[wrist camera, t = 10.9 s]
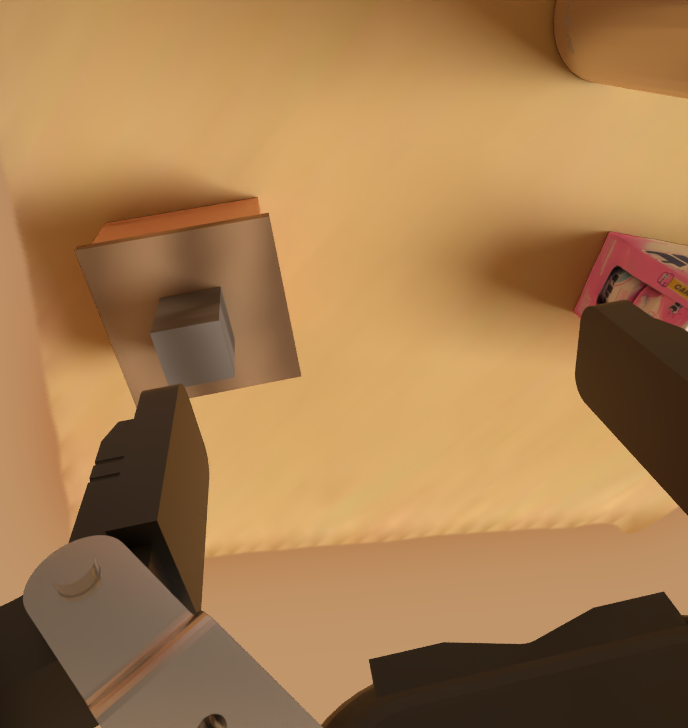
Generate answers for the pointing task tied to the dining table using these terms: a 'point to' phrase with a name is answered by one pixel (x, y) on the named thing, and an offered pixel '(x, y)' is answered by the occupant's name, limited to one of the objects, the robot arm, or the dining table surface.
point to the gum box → (640, 277)
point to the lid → (194, 306)
